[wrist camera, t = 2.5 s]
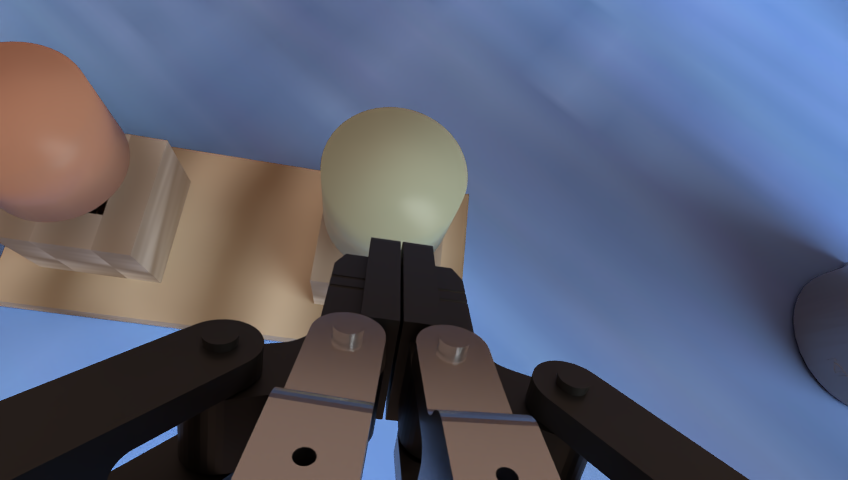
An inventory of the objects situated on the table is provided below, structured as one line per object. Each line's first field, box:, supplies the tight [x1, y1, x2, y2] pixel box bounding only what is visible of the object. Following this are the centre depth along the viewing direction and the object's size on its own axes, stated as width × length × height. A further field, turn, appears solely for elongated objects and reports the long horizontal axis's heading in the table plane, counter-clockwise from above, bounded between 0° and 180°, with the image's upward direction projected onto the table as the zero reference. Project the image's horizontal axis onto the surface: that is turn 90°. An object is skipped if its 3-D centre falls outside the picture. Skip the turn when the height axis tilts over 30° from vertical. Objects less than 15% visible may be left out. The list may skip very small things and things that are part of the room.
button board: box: [0, 134, 469, 342], centre depth 28 cm, size 24×10×6 cm, turn 84°
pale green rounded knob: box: [321, 107, 468, 257], centre depth 23 cm, size 6×6×7 cm
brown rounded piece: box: [0, 42, 130, 222], centre depth 22 cm, size 6×6×7 cm
